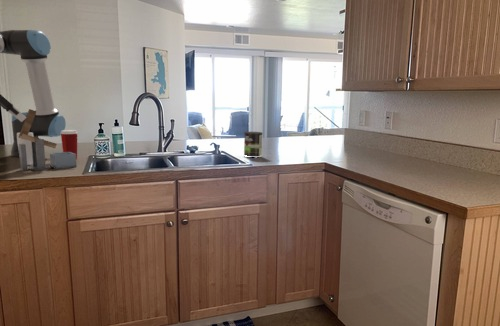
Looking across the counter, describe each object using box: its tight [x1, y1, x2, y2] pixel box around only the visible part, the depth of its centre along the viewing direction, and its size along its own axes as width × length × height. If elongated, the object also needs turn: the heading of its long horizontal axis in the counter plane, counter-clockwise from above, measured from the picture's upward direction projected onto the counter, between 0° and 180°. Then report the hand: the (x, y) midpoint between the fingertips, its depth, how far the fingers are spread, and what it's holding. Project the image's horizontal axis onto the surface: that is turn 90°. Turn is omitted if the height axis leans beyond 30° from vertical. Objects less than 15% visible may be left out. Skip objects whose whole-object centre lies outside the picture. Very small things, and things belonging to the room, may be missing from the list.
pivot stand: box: [28, 138, 51, 172], centre depth 166 cm, size 9×6×14 cm, turn 43°
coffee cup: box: [60, 129, 79, 161], centre depth 191 cm, size 8×8×15 cm
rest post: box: [19, 144, 29, 172], centre depth 162 cm, size 4×2×11 cm, turn 43°
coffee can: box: [243, 131, 263, 156], centre depth 214 cm, size 10×10×14 cm
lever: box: [18, 109, 58, 149], centre depth 165 cm, size 6×14×13 cm, turn 133°
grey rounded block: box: [49, 151, 78, 170], centre depth 173 cm, size 9×9×6 cm
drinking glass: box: [17, 132, 34, 166], centre depth 175 cm, size 7×7×15 cm
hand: (23, 119), depth 160 cm, fingers closed
